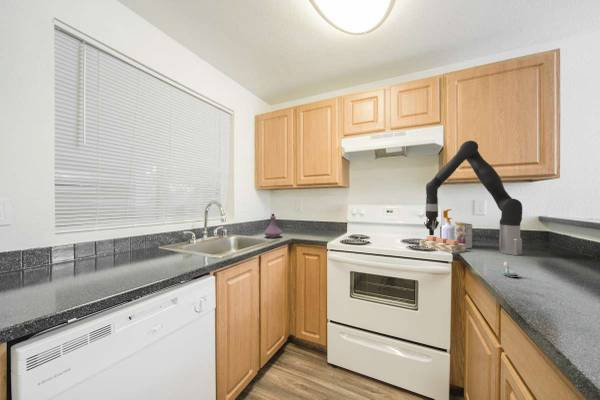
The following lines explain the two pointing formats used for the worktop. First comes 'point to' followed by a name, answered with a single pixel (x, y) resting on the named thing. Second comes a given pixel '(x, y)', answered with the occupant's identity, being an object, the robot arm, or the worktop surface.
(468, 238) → the candy bar box
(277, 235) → the flask
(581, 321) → the worktop surface
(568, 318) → the worktop surface
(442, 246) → the button board
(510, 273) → the pacifier
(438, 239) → the button middle
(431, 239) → the button outer
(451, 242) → the button inner
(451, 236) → the soap bottle
